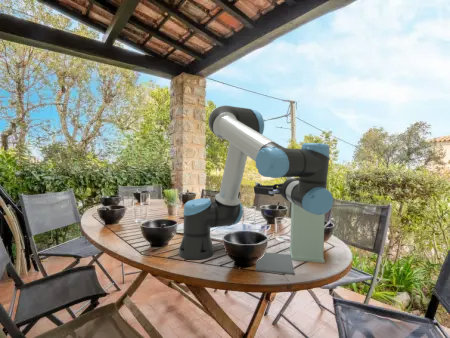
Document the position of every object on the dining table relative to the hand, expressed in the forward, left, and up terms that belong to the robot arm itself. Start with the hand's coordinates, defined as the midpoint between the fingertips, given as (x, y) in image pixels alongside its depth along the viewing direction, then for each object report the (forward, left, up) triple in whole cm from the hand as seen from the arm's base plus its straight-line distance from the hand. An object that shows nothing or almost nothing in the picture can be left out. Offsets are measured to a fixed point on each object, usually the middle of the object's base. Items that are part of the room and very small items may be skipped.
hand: (272, 182), depth 100 cm
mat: (+2, -3, -32) cm, 32 cm away
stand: (+15, +9, -32) cm, 37 cm away
